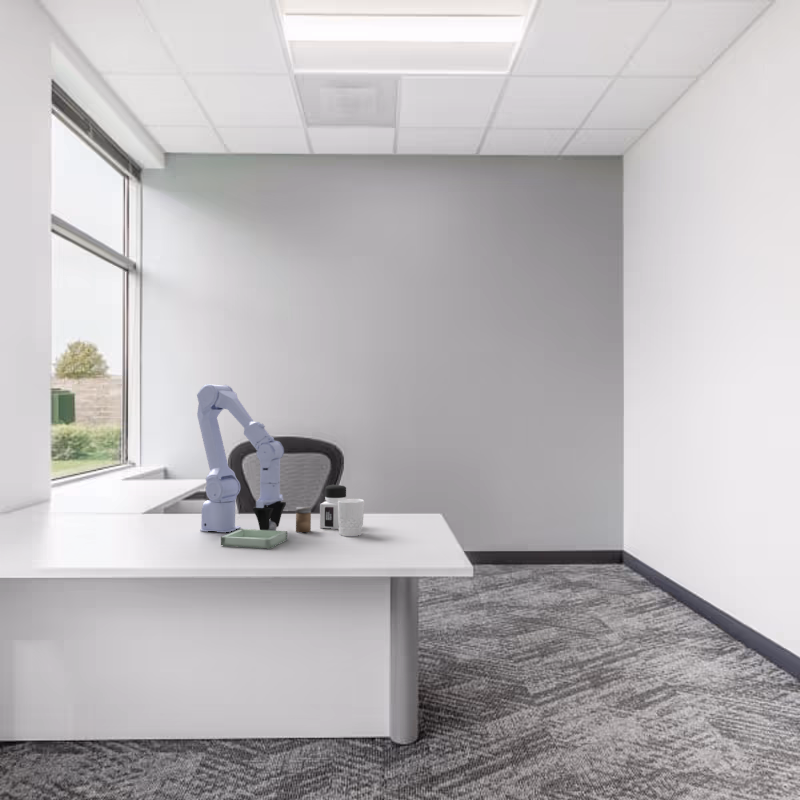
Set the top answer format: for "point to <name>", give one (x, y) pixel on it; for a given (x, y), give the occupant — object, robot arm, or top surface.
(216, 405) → the robot arm
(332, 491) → the container
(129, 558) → the top surface
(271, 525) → the ball
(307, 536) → the top surface
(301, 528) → the cylinder
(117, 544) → the top surface
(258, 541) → the tray
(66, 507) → the top surface
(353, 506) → the white cup
